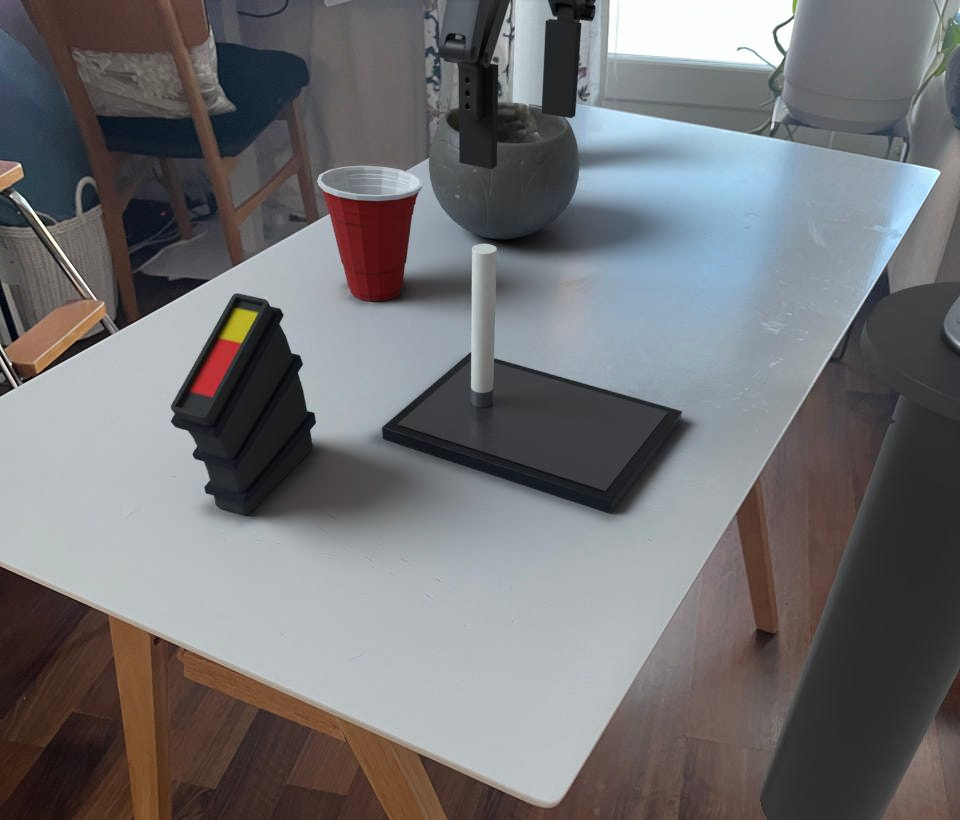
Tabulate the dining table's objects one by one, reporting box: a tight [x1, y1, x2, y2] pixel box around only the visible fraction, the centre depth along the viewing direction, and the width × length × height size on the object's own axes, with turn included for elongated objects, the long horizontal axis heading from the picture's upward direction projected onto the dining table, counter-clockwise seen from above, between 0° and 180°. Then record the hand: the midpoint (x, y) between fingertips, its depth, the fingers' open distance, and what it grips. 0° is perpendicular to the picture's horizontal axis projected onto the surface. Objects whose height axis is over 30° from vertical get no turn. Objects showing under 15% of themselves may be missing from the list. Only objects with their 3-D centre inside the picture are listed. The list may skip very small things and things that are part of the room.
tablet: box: [381, 351, 683, 514], centre depth 86 cm, size 22×16×1 cm
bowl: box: [428, 101, 580, 240], centre depth 115 cm, size 18×18×13 cm
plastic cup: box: [317, 165, 424, 302], centre depth 103 cm, size 11×11×12 cm
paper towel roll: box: [512, 0, 557, 107], centre depth 130 cm, size 7×6×21 cm
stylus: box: [470, 243, 498, 408], centre depth 83 cm, size 2×2×14 cm
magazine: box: [170, 292, 317, 516], centre depth 77 cm, size 4×13×15 cm, turn 157°
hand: (520, 138), depth 75 cm, fingers open, 13 cm apart
